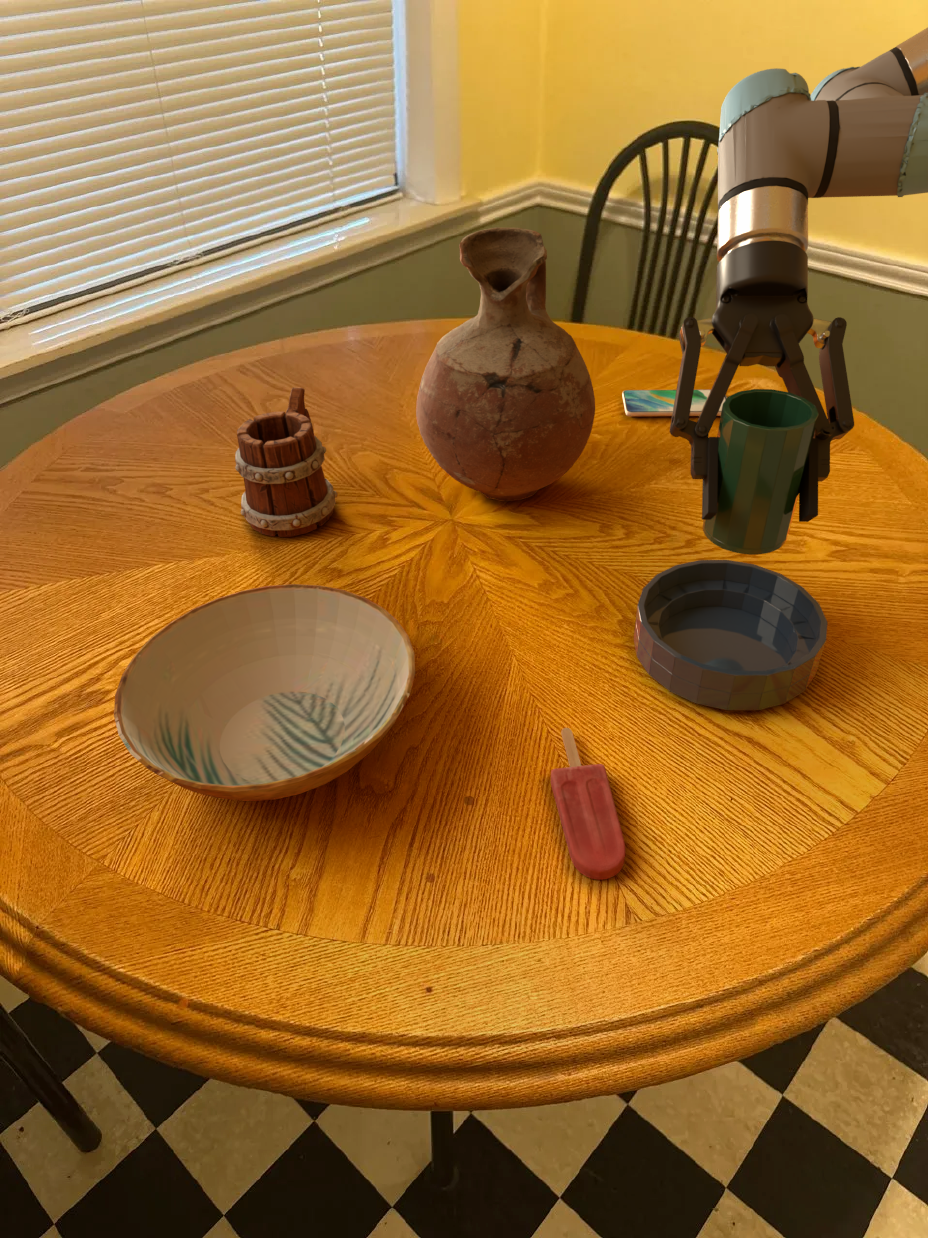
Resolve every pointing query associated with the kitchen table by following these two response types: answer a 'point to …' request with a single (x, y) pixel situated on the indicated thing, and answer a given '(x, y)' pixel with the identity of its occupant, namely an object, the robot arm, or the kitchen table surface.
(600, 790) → the popsicle
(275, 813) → the kitchen table surface
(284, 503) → the mug
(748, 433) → the green cup
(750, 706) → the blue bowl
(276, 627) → the bowl
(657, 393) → the smartphone
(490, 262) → the jug
